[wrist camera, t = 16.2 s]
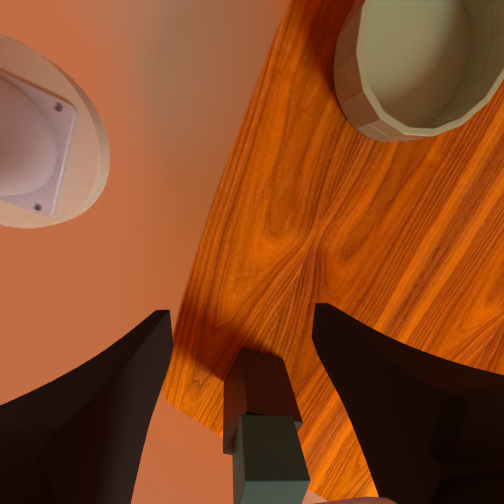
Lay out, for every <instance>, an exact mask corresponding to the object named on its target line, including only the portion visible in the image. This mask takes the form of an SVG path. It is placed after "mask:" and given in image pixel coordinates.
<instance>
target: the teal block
mask: <svg viewBox="0 0 504 504" xmlns="http://www.w3.org/2000/svg"><path fill="white" fill-rule="evenodd" d="M232 455H233V499H234V501H233V502H234V504H302V502H303V499H304V496H305V494H306V491H307V489H308V486H309V483H310V477H309V474H308V470H307V467H306V463H305V459H304V456H303V452H302V448H301V445H300V441H299V438H298V434H297V430H296V427H295V423H294V419H293V417H292V416H269V415H241V417H240V421H239V426H238V430H237V435H236V439H235V443H234V448H233V452H232Z"/></svg>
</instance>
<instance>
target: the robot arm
mask: <svg viewBox="0 0 504 504" xmlns="http://www.w3.org/2000/svg"><path fill="white" fill-rule="evenodd" d="M59 104H61V105H62V110H61V111H59V110H58V105H59ZM77 116H78V112H77V109H76V108H75V107H74V106H73V105H72V104H70V103H68V102H65V101H63V100H61V99H59V98H57V97H55V96H53V95H50V94H48V93H46V92H44V91H42V90H40V89H38V88H36V87H33V86H31V85H29V84H27V83H25V82H23V81H21V80H18V79H16V78H14V77H12V76H10V75H8V74H6V73H3V72H1V71H0V200H2V201H4V202H7V203H10V204H13V205H15V206H18V207H21V208H24V209H26V210H29V211H32V212H35V213H37V214H40V215H43V216H52V215H54V214H55V212H56V208H57V203H58V199H59V195H60V190H61V186H62V182H63V177H64V173H65V169H66V164H67V160H68V155H69V151H70V147H71V142H72V138H73V134H74V129H75V125H76V121H77ZM37 204H40V206H41V209H39V208H38V207H37ZM312 340H313V343H314V346H315V348H316V351H317V354H318V356H319V358H320V360H321V362H322V364H323V366H324V368H325V370H326V372H327V373H328V375H329V377H330V379H331V381H332V383H333V385H334V387H335V389H336V390H337V392H338V394H339V396H340V398H341V400H342V402H343V404H344V406H345V409H346V411H347V413H348V416H349V418H350V421H351V423H352V426H353V428H354V430H355V433H356V436H357V438H358V441H359V443H360V446H361V448H362V451H363V454H364V456H365V459H366V462H367V464H368V467H369V470H370V473H371V476H372V478H373V481H374V484H375V487H376V489H377V492H378V495H379V497H361V498H353V499H346V500H338V501H331V502H323V503H316V504H504V375H500V374H496V373H492V372H488V371H484V370H480V369H476V368H472V367H469V366H466V365H462V364H459V363H456V362H452V361H449V360H446V359H443V358H440V357H437V356H434V355H431V354H429V353H426V352H423V351H421V350H418V349H415V348H413V347H410V346H408V345H406V344H403V343H401V342H399V341H397V340H394V339H392V338H390V337H388V336H386V335H384V334H382V333H380V332H378V331H376V330H374V329H372V328H370V327H368V326H367V325H365V324H363V323H361V322H360V321H358V320H356V319H354V318H353V317H351V316H349V315H348V314H346V313H344V312H343V311H341V310H339V309H338V308H336V307H334V306H332V305H330V304H328V303H315V311H314V320H313V330H312ZM172 350H173V337H172V328H171V319H170V310H156V311H155V312H153V313H152V314H151V315H149V316H148V317H147V318H146V319H145V320H143V321H142V322H141V323H140V324H139V325H137V326H136V327H135V328H134V329H132V330H131V331H130V332H129V333H127V334H126V335H125V336H124V337H122V338H121V339H119V340H118V341H117V342H115V343H114V344H113V345H111V346H110V347H108V348H107V349H106V350H104V351H103V352H101V353H100V354H98V355H97V356H96V357H93V358H92V359H90V360H89V361H87V362H85V363H84V364H82V365H80V366H79V367H77V368H75V369H73V370H72V371H70V372H68V373H66V374H65V375H63V376H61V377H59V378H57V379H56V380H53V381H52V382H49V383H47V384H45V385H43V386H41V387H39V388H37V389H36V390H33V391H31V392H29V393H27V394H25V395H23V396H20V397H18V398H16V399H14V400H12V401H9V402H7V403H5V404H3V405H0V504H131V499H132V494H133V490H134V485H135V481H136V477H137V472H138V468H139V463H140V459H141V455H142V451H143V446H144V443H145V439H146V435H147V431H148V427H149V423H150V420H151V416H152V413H153V411H154V408H155V405H156V402H157V399H158V396H159V394H160V391H161V388H162V385H163V382H164V379H165V376H166V373H167V370H168V367H169V364H170V359H171V355H172Z"/></svg>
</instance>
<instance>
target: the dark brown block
mask: <svg viewBox="0 0 504 504" xmlns="http://www.w3.org/2000/svg"><path fill="white" fill-rule="evenodd" d="M241 415H269V416H292V417H293V419H294V423H295V427H296V430H297V431H298V430H299V428H300V427H301V425H302V424H303V422H302V418H301V415H300V412H299V409H298V405H297V402H296V399H295V396H294V393H293V389H292V386H291V383H290V380H289V376H288V373H287V370H286V367H285V364H284V360H283V359H279V358H276V357H273V356H269V355H266V354H263V353H260V352H256V351H253V350H250V349H246V348H243V347H242V348H241V350H240V352H239V354H238V356H237V358H236V360H235V362H234V364H233V366H232V367H231V369H230V371H229V373H228V375H227V377H226V379H225V381H224V409H223V453H224V454H229V455H232V452H233V448H234V443H235V439H236V435H237V430H238V426H239V421H240V417H241Z"/></svg>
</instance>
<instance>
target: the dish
mask: <svg viewBox="0 0 504 504" xmlns="http://www.w3.org/2000/svg"><path fill="white" fill-rule="evenodd" d="M333 75H334V85H335V91H336V95H337V99H338V102H339V104H340V107H341V109H342V111H343V113H344V114H345V116H346V118H347V119H348V120H349V122H350V123H351V124H352V125H353V126H354V127H355V128H356V129H357V130H358V131H359V132H361V133H362V134H364V135H365V136H367V137H369V138H371V139H374V140H378V141H382V142H406V141H411V140H416V139H421V138H426V137H431V136H435V135H438V134H440V133H443V132H445V131H448V130H450V129H453V128H456V127H458V126H461V125H462V124H464V123H465V122H466V121H467V120H468V119H470V118H471V117H472V116H473V115H474V114H475V113H476V112H478V111H479V110H480V109H481V108H482V107H483V106H484V105H486V104H487V103H488V102H489V101H490V100H491V98H492V96H493V95H494V93H495V92H496V90H497V89H498V87H499V85H500V84H501V82H502V81H503V79H504V0H355V2H354V4H353V6H352V8H351V10H350V11H349V13H348V15H347V17H346V19H345V21H344V23H343V25H342V28H341V30H340V33H339V36H338V40H337V44H336V48H335V54H334V65H333Z"/></svg>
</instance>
